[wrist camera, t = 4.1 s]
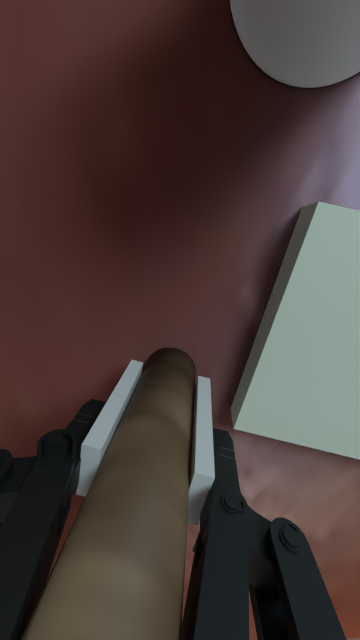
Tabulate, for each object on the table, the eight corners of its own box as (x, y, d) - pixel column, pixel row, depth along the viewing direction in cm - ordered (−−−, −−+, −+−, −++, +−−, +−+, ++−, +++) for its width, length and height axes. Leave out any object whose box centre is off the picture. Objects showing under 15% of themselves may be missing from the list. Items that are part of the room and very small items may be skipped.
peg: (142, 385, 18) (-32, 803, 5) (150, 342, 17) (-52, 741, 3) (189, 396, 18) (149, 853, 5) (200, 354, 17) (193, 808, 3)
